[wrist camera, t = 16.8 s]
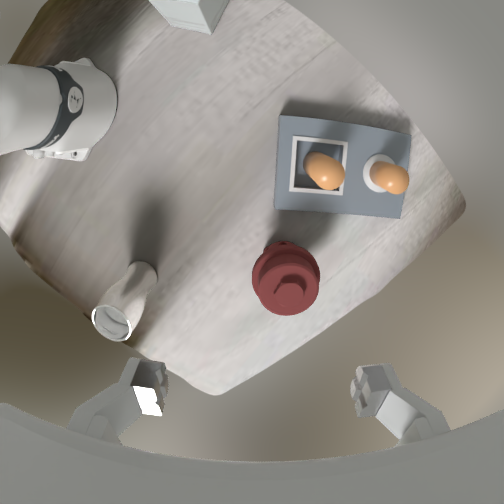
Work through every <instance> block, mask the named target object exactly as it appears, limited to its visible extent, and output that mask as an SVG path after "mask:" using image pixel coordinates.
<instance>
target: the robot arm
mask: <svg viewBox="0 0 504 504" xmlns="http://www.w3.org/2000/svg"><path fill="white" fill-rule="evenodd" d="M116 107H117V94H116V89H115V86H114V84H113V82H112V80H111V79H110V77H109V76H108V75H107V74H105V73H104V72H102V71H100V70H98V69H97V68H96V67H95V66H94V64H93V63H92V61H91V60H90V59H89V58H81V59H79V60H77V61H75V62H67V61H61V62H60V63H59V64H57V65H55V66H48V65H47V66H37V67H31V66H24V65H16V64H5V65H1V66H0V155H2V154H6V153H9V152H12V151H16V150H20V149H24V150H25V151H26V153H27V154H28V155H33V158H34V159H40V158H44V157H51V158H59V159H67V160H74V161H84V160H86V158H87V157H88V155H89V153H90V151H91V149H92V147H93V146H94V145H95V144H96V143H97V142H98V141H99V140H100V139H101V138H102V137H103V136H104V135H105V133H106V132H107V131H108V129H109V128H110V126H111V124H112V122H113V119H114V116H115V113H116ZM75 152H77V155H75ZM165 371H166V366H165V363H164V362H158V361H151V360H145V359H138V358H132V357H131V358H130V359H129V360H128V362H127V364H126V367H125V369H124V371H123V373H122V375H121V378H120V380H119V382H118V384H116V383H114V384H113V385H111V386H110V387H108V388H107V389H105V390H104V391H102V392H100V393H99V394H97V395H96V396H94V397H93V398H91V399H89V400H88V401H86V402H85V403H83V404H82V405H80V406H78V407H77V408H76V410H75V412H74V414H73V415H72V418H71V420H70V422H69V424H68V426H67V428H66V429H65V428H63V427H60V426H57V425H55V424H52V423H49V422H47V421H45V420H42V419H40V418H37V417H35V416H32V415H31V414H28V413H26V412H24V411H22V410H20V409H18V408H16V407H13V406H11V405H9V404H7V403H1V404H0V504H504V410H500V411H498V412H496V413H494V414H491V415H489V416H487V417H485V418H483V419H480V420H478V421H475V422H473V423H470V424H467V425H465V426H463V427H460V428H457V429H454V430H450V428H449V426H448V424H447V422H446V419H445V417H444V415H443V414H442V412H441V411H440V410H438V409H437V408H435V407H434V406H432V405H430V404H429V403H428V402H426V401H425V400H423V399H422V398H420V397H419V396H417V395H416V394H414V393H413V392H411V391H410V390H408V389H407V388H403V387H402V385H401V383H400V381H399V379H398V377H397V375H396V373H395V371H394V368H393V367H392V365H391V364H390V363H384V364H374V365H364V366H359V367H358V368H357V370H356V375H357V376H356V377H355V378H353V380H352V383H351V396H352V399H353V400H355V401H356V405H355V409H356V412H357V416H358V418H361V417H369V416H376V418H377V419H378V420H379V421H380V422H382V424H383V425H385V426H386V427H387V428H388V429H389V430H390V431H391V432H392V433H393V434H394V435H395V436H396V437H397V438H398V439H399V440H400V441H399V442H398V443H397V444H396V446H395V447H392V448H387V449H383V450H378V451H373V452H367V453H362V454H356V455H349V456H342V457H334V458H325V459H315V460H302V461H282V462H239V461H221V460H208V459H198V458H189V457H182V456H174V455H168V454H162V453H156V452H151V451H145V450H141V449H136V448H131V447H126V446H123V445H122V443H121V441H120V440H119V438H118V436H119V435H120V434H121V433H123V432H124V431H125V430H126V429H127V428H128V427H129V426H130V425H131V424H133V423H134V422H135V421H136V420H137V419H138V418H139V417H140V416H141V415H142V414H143V413H146V414H153V415H162V412H163V408H164V405H165V403H164V400H163V398H165V397H166V396H167V393H168V387H169V381H168V376H167V375H166V374H165Z"/></svg>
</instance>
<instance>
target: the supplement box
mask: <svg viewBox="0 0 504 504" xmlns="http://www.w3.org/2000/svg"><path fill="white" fill-rule="evenodd" d="M149 1H150V3H151V4H152V5H153V6H154V7H155V8H156V9H157V10H158V11H159V12H160V14H161V15H162V16H163V17H164V18H165V19H166V20H167V22H168V23H169V24H170V25H171V26H173V27H178V28H183V29H188V30H193V31H197V32H202V33H206V34H210V35H212V33H213V31H214V29H215V27H216V25H217V23H218V21H219V19H220V17H221V15H222V13H223V11H224V9H225V7H226V6H227V4H228V2H229V0H149Z"/></svg>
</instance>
